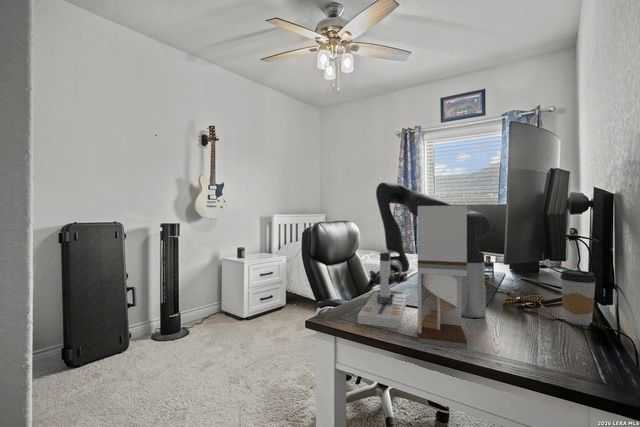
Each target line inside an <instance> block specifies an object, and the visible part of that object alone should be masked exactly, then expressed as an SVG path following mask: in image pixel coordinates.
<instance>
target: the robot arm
mask: <svg viewBox="0 0 640 427" xmlns="http://www.w3.org/2000/svg"><path fill="white" fill-rule="evenodd" d="M375 194H376V195H375V196H376V200H377V201H376V202H377V206H378V208H379V209H378V210H379V213H380V217H381V220H382V224H383V230H384V236H385V246H386V247H385V248H386V250H387V251H390V252H396V253H397V254H398V255H396V256H395V255H393V256H391V255H390V277H389V279H388V284H389V285H390V286H391V285H393V284H395V283H397V284H401V283H404V282H407V281H408V273H407V272H408V270H409V269H410V263H409V260H408V257H407V254H406V252H405V249H404V245H403V236H402V230H401V227H400V226H399V223H398V222H397V220H396V219H395V217H394V215H393V213H392V211H391V204H398V205H402V206H405V207H406V208H408V211H409V212H410V213H411V214H412V215H413V216H415V217H417V218H418V206H454V205H452V204H451V203H448V202H446V201H444V200H441V199H438V198H436V197H434V196H431V195H428V194H426V193H421V192H420V191H415V190H411V189H410V188H407V187H406V186H404V185H402V184H400V183H398V182H381V183H379V184H378V185H377V187H376V190H375ZM491 229H492V225H491V222H490V220H489V218H488V217H487V216H486V215H485V214H483V213H481V212H478V211H474V210H469V209H467V276H461V317H465V318H474V319H475V318H486V317H487V314H486V313H487V312H486V310H487V309H486V308H487V306H486V305H487V304H486V303H487V301H486V300H487V294H486V293H487V288H486V286H485V254H484V252H483V251H481V250H479V249H478V248H477V242H476V240H481V239H483V238H485V237H487V236H488V235H489V234H490V233H491ZM369 279H370V280H371V281H372V282H375V283H376V284H377V285H380V270H378V271H377V272H376V271H374V270H369Z"/></svg>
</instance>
